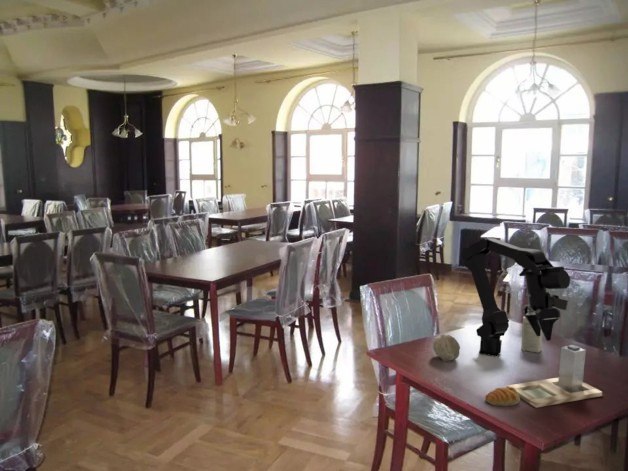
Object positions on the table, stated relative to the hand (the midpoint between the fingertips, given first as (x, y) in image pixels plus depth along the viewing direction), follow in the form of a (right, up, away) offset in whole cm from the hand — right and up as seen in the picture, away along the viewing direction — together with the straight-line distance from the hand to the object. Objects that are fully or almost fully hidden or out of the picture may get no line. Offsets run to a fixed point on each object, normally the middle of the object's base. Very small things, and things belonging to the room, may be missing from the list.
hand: (543, 338), depth 164 cm
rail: (-2, -14, -11) cm, 18 cm away
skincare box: (+6, -9, +23) cm, 25 cm away
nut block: (+4, -14, -9) cm, 17 cm away
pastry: (-19, -15, -17) cm, 30 cm away
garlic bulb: (-28, -10, +14) cm, 33 cm away
